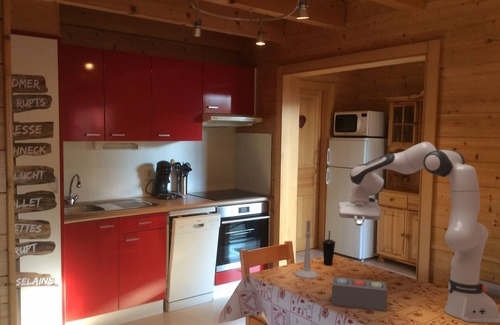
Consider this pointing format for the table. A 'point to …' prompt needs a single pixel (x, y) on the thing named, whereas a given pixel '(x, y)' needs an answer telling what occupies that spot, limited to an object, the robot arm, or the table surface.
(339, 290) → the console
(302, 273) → the candlestick
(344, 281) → the blue button
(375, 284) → the green button
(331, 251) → the drinking cup
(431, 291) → the table surface
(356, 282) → the red button
